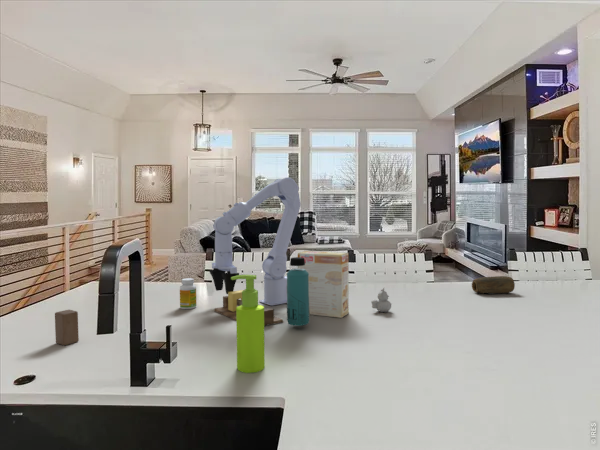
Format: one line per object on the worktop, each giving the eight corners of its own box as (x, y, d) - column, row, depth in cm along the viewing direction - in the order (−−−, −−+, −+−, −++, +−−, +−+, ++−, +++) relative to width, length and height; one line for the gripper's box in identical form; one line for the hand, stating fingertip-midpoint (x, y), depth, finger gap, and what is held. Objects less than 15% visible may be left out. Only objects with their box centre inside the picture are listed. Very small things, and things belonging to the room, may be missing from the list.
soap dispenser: (233, 363, 96) (231, 273, 95) (264, 362, 96) (263, 272, 95) (231, 373, 90) (229, 277, 89) (264, 372, 90) (263, 277, 89)
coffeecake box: (349, 313, 138) (349, 252, 137) (341, 318, 132) (341, 254, 131) (306, 308, 145) (306, 250, 144) (297, 313, 138) (296, 252, 137)
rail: (214, 310, 142) (214, 297, 142) (241, 306, 148) (240, 293, 148) (253, 328, 122) (253, 312, 122) (282, 322, 128) (282, 307, 128)
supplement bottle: (192, 309, 143) (191, 280, 143) (177, 309, 145) (176, 280, 144) (199, 306, 149) (198, 278, 148) (184, 305, 150) (184, 277, 149)
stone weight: (505, 291, 171) (505, 274, 171) (516, 294, 165) (516, 277, 164) (469, 292, 170) (469, 275, 169) (479, 296, 163) (479, 278, 162)
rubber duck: (394, 313, 138) (394, 288, 137) (374, 314, 137) (374, 289, 136) (388, 309, 143) (388, 285, 143) (368, 310, 142) (368, 285, 142)
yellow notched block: (228, 309, 138) (228, 292, 138) (244, 306, 142) (244, 289, 142) (232, 311, 136) (232, 293, 136) (249, 308, 140) (249, 291, 139)
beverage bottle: (312, 325, 124) (312, 256, 123) (305, 332, 118) (305, 259, 117) (291, 323, 126) (290, 255, 125) (283, 330, 120) (282, 258, 119)
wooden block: (63, 346, 108) (62, 314, 107) (55, 343, 110) (53, 312, 109) (79, 341, 111) (78, 310, 111) (70, 339, 113) (69, 308, 113)
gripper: (203, 251, 149) (204, 290, 150) (222, 254, 138) (223, 297, 139) (222, 249, 154) (222, 287, 154) (242, 253, 142) (242, 294, 143)
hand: (224, 292), depth 147 cm, fingers open, 7 cm apart
